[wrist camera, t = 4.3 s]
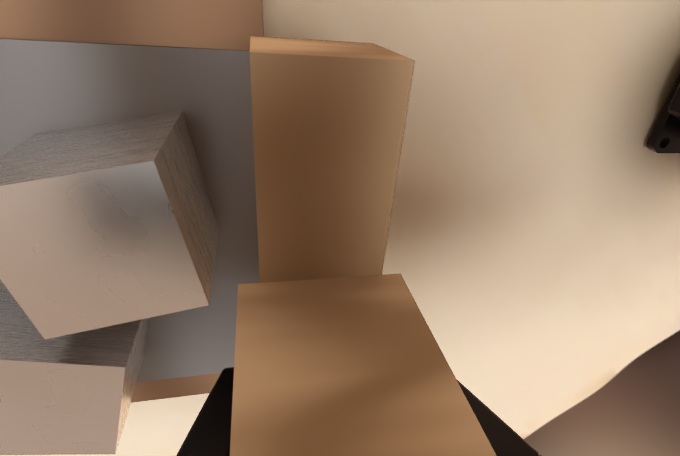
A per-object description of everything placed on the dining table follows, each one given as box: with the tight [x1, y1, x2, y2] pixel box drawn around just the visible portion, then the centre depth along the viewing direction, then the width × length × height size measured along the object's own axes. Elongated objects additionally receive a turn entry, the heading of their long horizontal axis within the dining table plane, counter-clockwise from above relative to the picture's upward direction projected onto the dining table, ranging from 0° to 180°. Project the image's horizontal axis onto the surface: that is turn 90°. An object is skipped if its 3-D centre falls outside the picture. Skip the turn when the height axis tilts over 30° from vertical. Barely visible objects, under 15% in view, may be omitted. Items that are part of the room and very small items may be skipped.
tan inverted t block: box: [230, 36, 496, 456], centre depth 9 cm, size 4×14×9 cm, turn 176°
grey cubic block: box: [0, 282, 149, 455], centre depth 12 cm, size 4×4×4 cm
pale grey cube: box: [0, 111, 219, 339], centre depth 10 cm, size 4×4×4 cm
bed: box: [0, 0, 263, 403], centre depth 14 cm, size 9×16×3 cm, turn 176°
